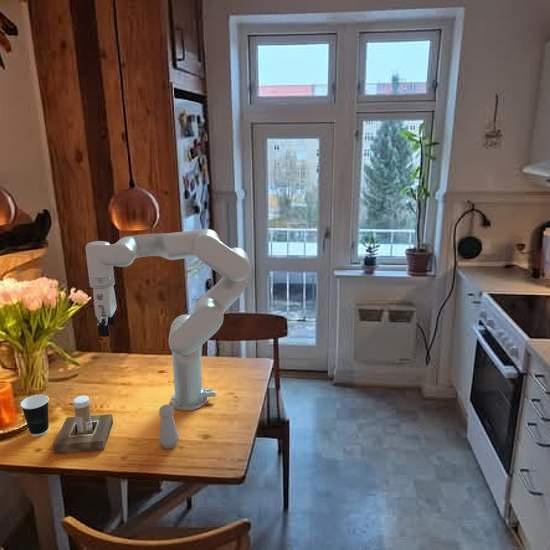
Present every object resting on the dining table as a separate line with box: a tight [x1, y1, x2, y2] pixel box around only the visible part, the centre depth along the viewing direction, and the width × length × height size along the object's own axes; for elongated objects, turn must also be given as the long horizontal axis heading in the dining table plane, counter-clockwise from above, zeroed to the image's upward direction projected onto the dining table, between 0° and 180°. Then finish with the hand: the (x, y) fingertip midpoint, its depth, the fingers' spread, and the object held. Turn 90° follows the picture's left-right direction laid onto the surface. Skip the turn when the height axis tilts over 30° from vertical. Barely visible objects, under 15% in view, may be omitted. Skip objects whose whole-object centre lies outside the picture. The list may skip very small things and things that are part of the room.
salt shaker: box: [158, 404, 179, 450], centre depth 142 cm, size 6×6×13 cm
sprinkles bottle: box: [72, 395, 94, 435], centre depth 145 cm, size 5×5×13 cm
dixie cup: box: [19, 394, 50, 438], centre depth 148 cm, size 8×8×11 cm
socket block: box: [52, 413, 114, 455], centre depth 146 cm, size 14×14×3 cm
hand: (107, 330), depth 156 cm, fingers open, 9 cm apart
